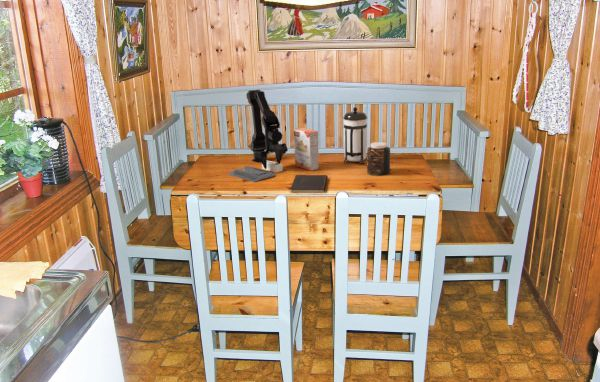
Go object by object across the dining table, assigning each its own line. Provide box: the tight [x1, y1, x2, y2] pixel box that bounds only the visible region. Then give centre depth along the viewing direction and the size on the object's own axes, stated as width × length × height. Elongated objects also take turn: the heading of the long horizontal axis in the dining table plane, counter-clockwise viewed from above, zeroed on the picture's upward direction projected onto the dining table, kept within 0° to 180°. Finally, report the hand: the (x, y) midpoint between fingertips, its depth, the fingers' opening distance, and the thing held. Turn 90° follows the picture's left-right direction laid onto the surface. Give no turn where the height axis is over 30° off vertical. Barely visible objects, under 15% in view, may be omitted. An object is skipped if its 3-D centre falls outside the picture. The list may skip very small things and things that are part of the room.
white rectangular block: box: [261, 159, 284, 173], centre depth 298 cm, size 12×4×4 cm, turn 45°
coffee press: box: [342, 107, 368, 165], centre depth 303 cm, size 17×16×30 cm
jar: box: [366, 141, 391, 176], centre depth 284 cm, size 12×12×15 cm
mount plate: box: [227, 165, 276, 183], centre depth 290 cm, size 21×14×3 cm, turn 44°
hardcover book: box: [289, 174, 329, 194], centre depth 270 cm, size 16×23×2 cm
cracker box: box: [293, 126, 320, 172], centre depth 297 cm, size 14×6×21 cm, turn 37°
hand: (272, 167), depth 298 cm, fingers open, 9 cm apart
